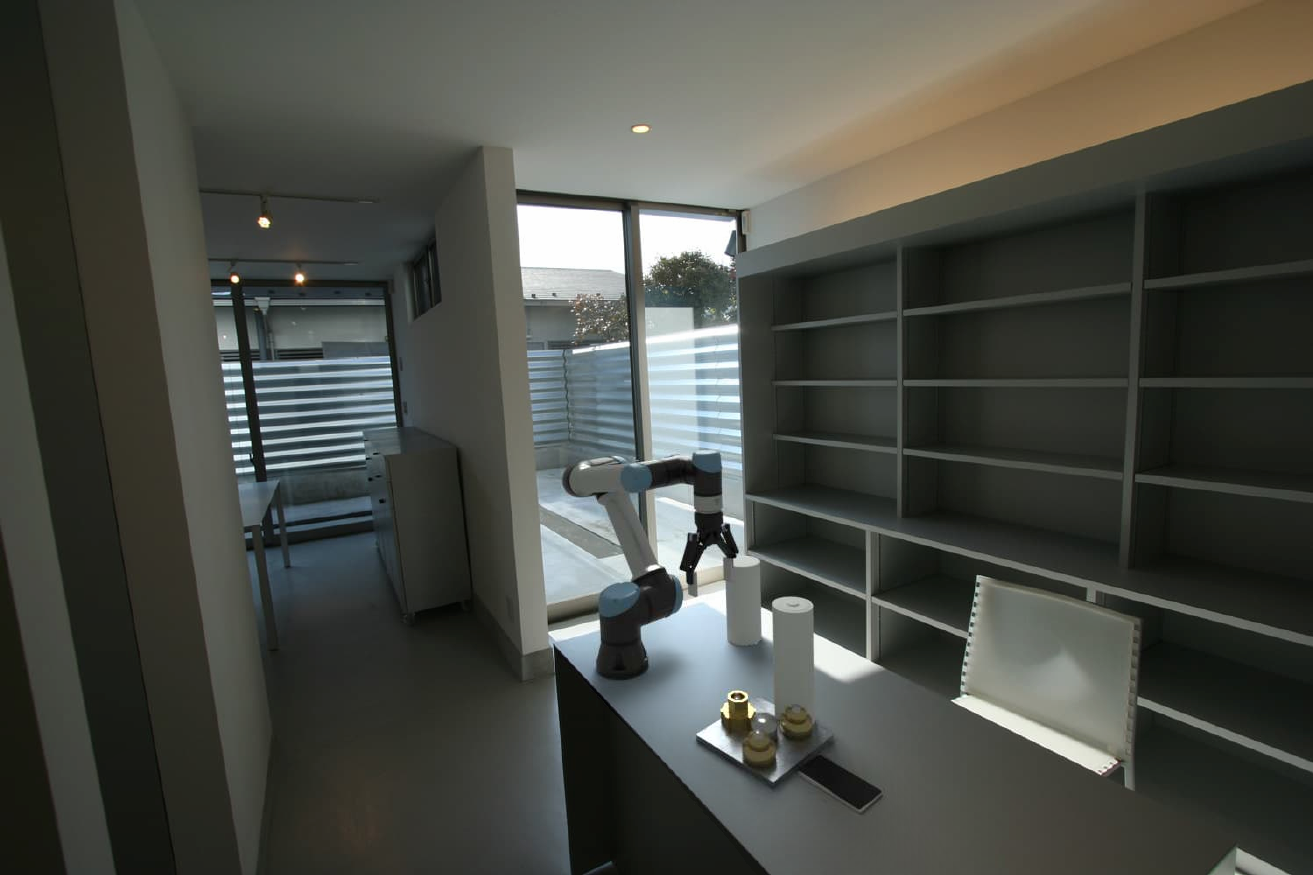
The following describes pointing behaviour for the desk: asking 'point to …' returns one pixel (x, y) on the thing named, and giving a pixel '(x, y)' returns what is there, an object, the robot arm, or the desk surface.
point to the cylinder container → (793, 655)
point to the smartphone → (839, 783)
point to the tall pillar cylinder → (744, 602)
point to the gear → (737, 712)
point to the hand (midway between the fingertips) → (711, 588)
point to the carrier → (768, 742)
